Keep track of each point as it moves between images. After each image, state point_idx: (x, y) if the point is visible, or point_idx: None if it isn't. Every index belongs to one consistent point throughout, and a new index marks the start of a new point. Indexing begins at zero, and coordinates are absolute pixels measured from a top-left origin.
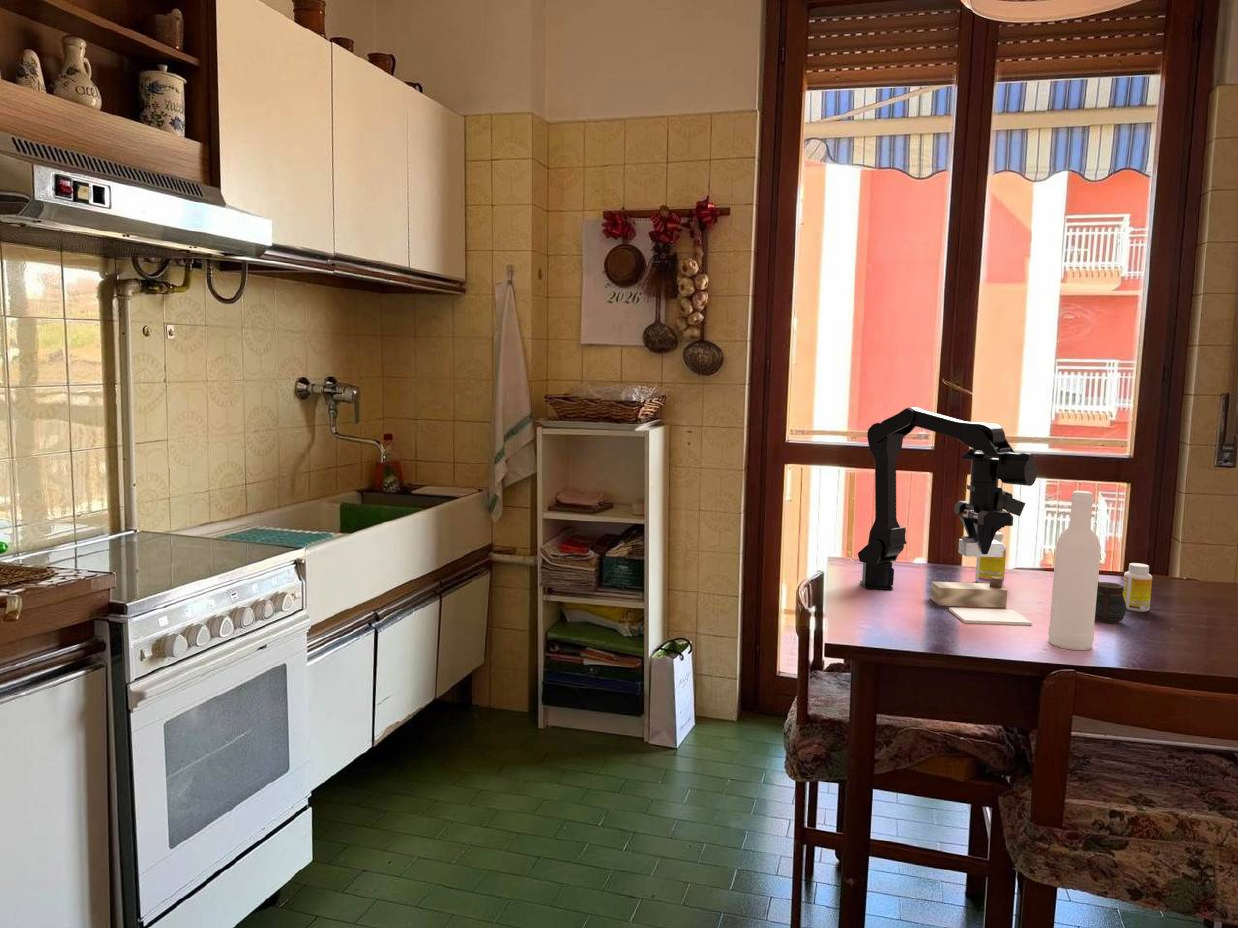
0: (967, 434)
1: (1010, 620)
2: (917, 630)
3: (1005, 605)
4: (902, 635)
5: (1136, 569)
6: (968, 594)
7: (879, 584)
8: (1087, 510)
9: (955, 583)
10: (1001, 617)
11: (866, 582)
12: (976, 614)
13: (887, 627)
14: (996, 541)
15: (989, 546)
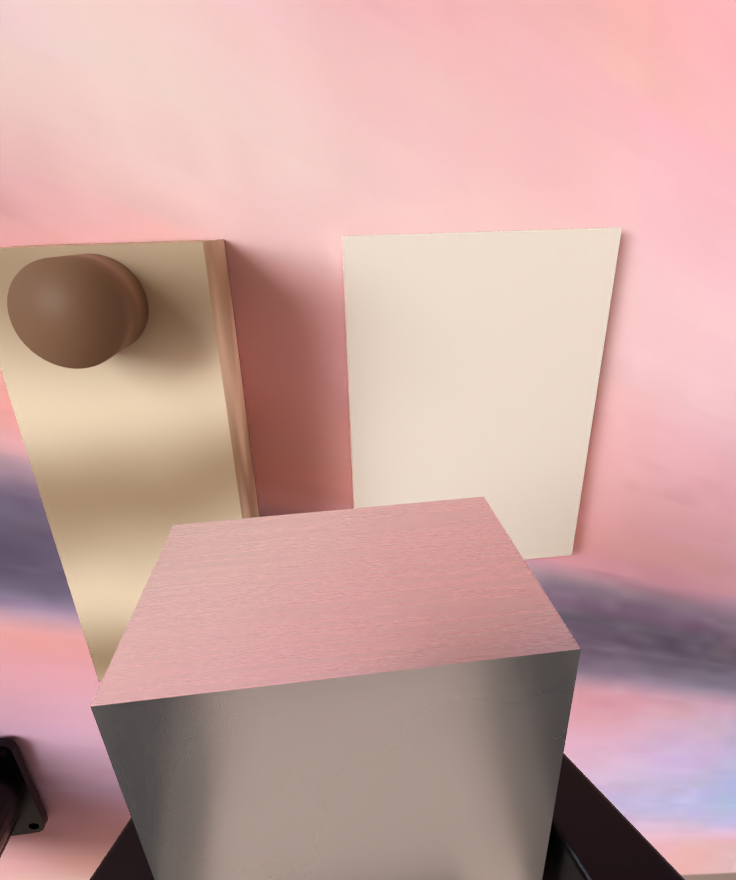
0: None
1: (580, 343)
2: (655, 706)
3: (221, 245)
4: (702, 746)
5: None
6: (244, 497)
7: (14, 803)
8: None
9: (98, 564)
10: (523, 373)
11: (4, 844)
12: (473, 482)
13: (616, 775)
14: (344, 723)
15: (597, 797)
